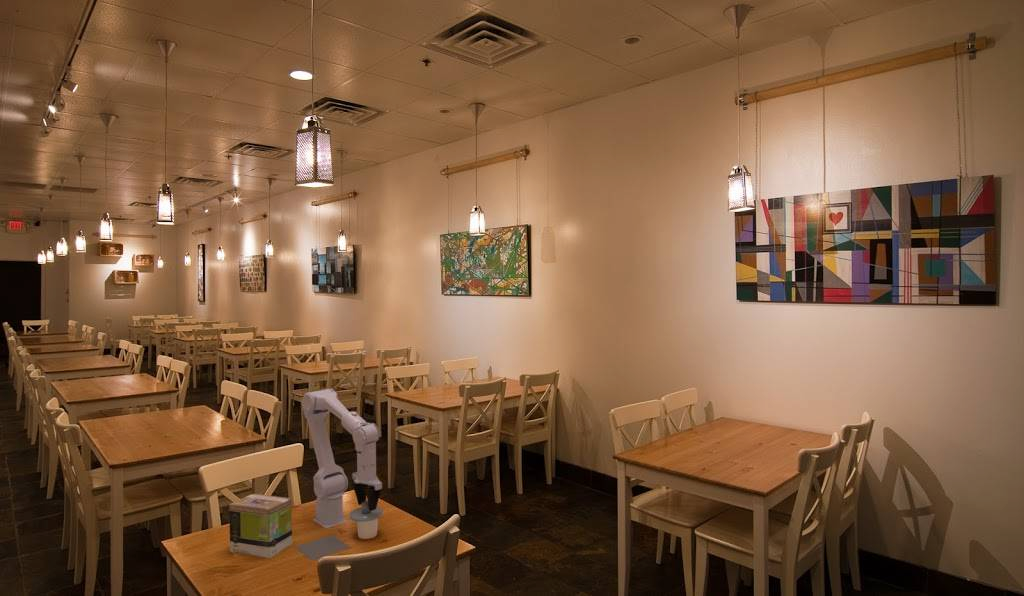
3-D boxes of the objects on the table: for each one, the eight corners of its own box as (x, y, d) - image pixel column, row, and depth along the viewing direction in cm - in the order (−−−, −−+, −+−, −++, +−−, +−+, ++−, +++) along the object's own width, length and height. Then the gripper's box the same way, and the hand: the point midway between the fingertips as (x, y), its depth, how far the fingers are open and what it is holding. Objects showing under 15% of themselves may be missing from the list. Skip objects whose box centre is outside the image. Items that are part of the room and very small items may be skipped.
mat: (294, 549, 172) (294, 547, 172) (331, 536, 181) (331, 534, 181) (312, 562, 164) (312, 560, 164) (350, 549, 172) (350, 547, 172)
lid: (343, 515, 180) (343, 502, 180) (371, 506, 187) (371, 494, 187) (360, 524, 173) (360, 511, 173) (388, 514, 180) (388, 502, 180)
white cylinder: (373, 542, 176) (372, 519, 176) (352, 540, 178) (352, 518, 178) (382, 532, 183) (382, 511, 183) (362, 531, 185) (362, 509, 184)
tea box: (293, 545, 175) (292, 497, 174) (269, 560, 165) (268, 509, 165) (254, 538, 180) (253, 491, 179) (228, 553, 170) (227, 503, 170)
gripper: (343, 461, 182) (344, 504, 183) (367, 472, 172) (367, 517, 172) (363, 456, 187) (364, 498, 188) (387, 466, 177) (388, 510, 177)
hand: (367, 506), depth 180 cm, fingers open, 6 cm apart
